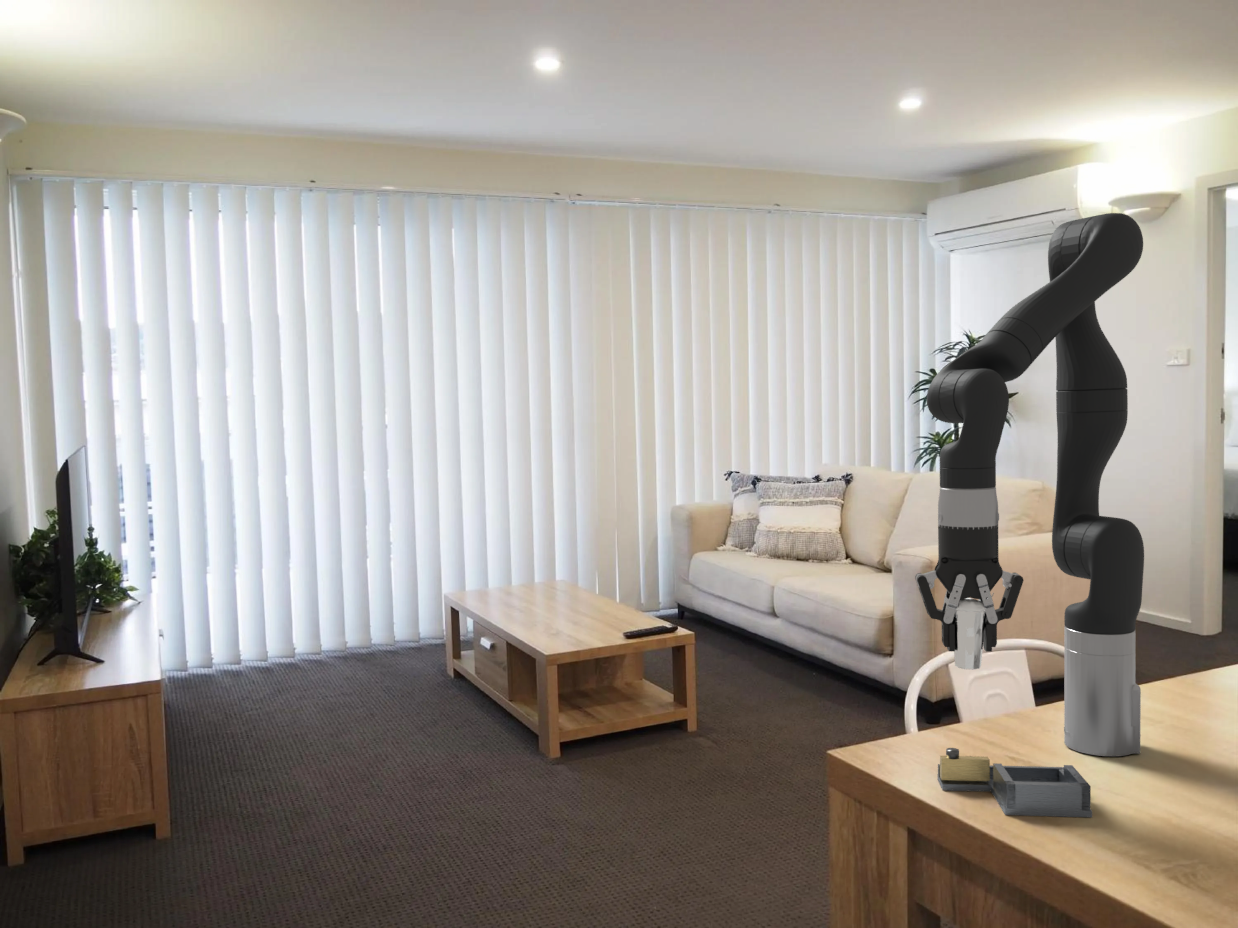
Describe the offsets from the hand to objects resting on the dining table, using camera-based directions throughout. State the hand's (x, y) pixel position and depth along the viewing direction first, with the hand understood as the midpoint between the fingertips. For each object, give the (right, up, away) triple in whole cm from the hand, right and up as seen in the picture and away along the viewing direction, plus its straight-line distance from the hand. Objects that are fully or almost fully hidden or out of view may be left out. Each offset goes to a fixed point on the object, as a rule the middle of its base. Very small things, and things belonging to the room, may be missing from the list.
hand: (968, 649), depth 138 cm
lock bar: (-2, -16, -3) cm, 17 cm away
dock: (+3, -17, -7) cm, 19 cm away
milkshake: (0, -2, 0) cm, 3 cm away
